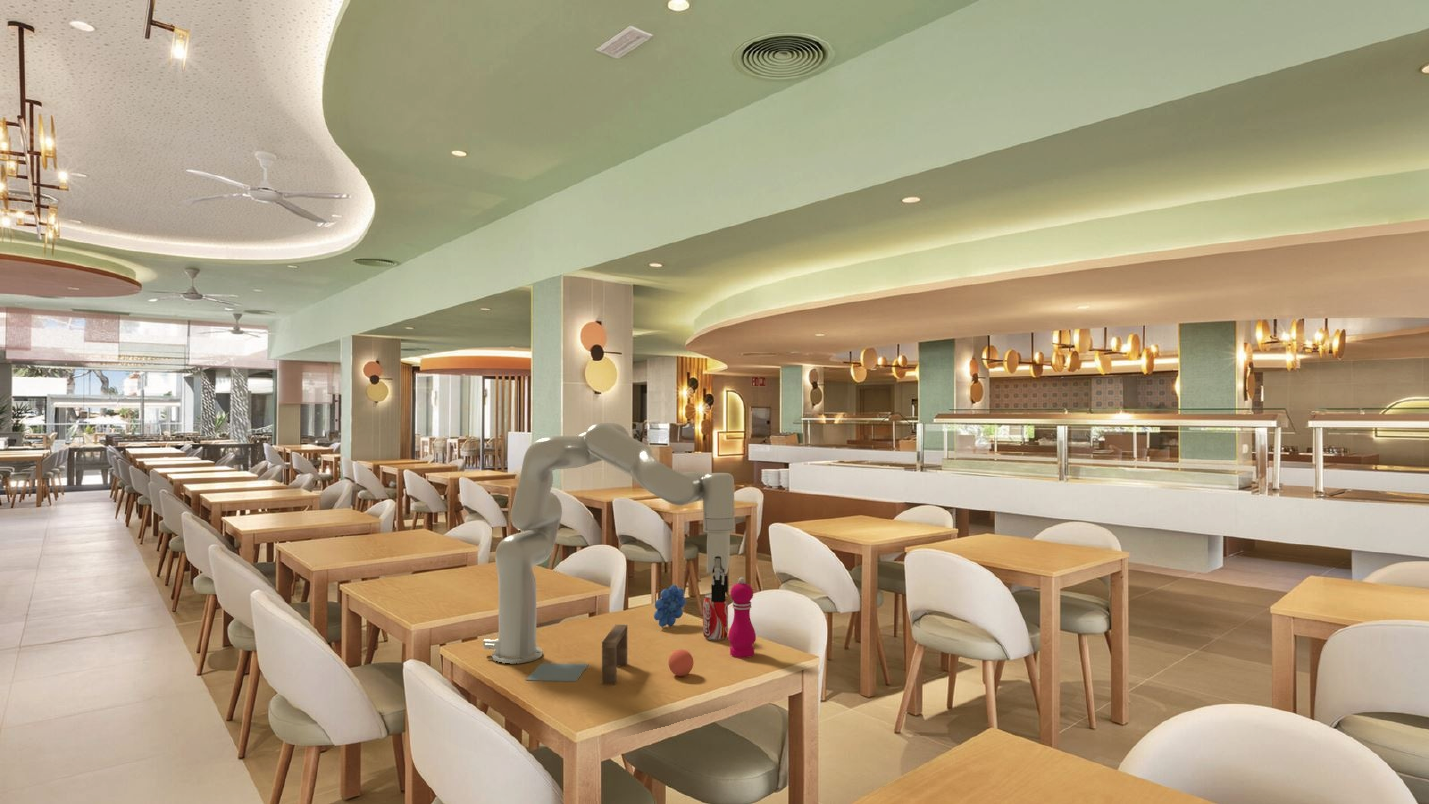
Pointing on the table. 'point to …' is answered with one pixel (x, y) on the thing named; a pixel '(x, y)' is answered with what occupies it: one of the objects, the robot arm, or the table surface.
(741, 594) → the pepper mill
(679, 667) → the ball
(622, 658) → the bridge
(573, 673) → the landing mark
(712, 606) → the soda can
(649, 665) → the table surface
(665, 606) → the grapes
